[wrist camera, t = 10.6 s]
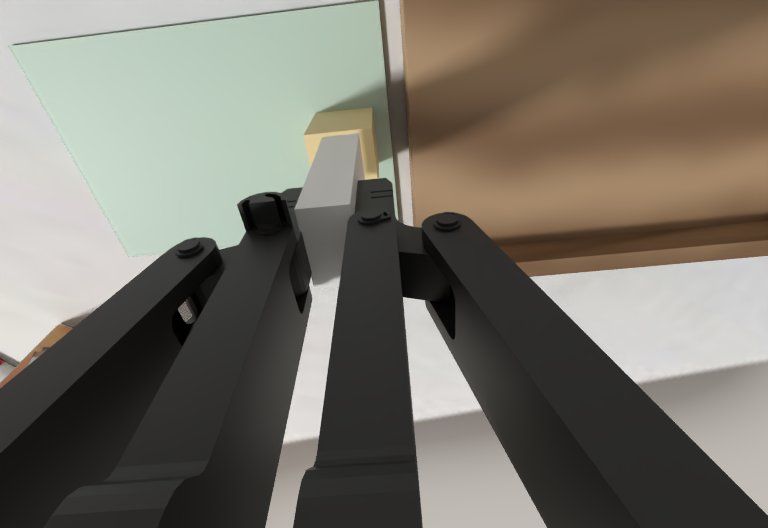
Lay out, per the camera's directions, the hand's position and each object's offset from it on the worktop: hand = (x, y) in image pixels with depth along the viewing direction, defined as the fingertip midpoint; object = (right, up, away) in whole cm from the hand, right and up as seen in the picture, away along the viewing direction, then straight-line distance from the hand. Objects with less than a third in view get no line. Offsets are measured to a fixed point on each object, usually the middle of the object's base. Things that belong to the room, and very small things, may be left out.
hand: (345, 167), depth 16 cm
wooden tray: (+13, +4, +4) cm, 14 cm away
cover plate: (-7, +3, +6) cm, 9 cm away
